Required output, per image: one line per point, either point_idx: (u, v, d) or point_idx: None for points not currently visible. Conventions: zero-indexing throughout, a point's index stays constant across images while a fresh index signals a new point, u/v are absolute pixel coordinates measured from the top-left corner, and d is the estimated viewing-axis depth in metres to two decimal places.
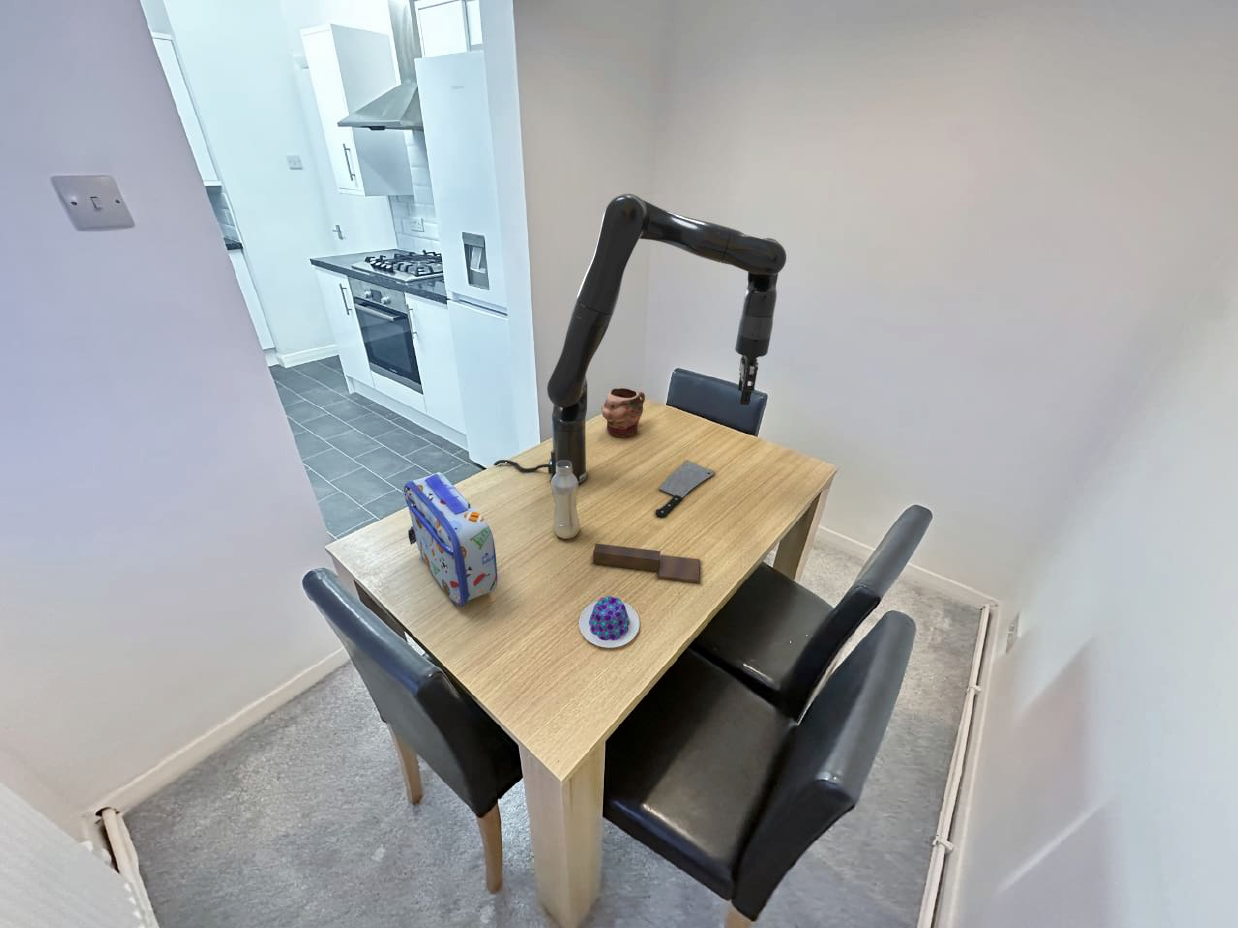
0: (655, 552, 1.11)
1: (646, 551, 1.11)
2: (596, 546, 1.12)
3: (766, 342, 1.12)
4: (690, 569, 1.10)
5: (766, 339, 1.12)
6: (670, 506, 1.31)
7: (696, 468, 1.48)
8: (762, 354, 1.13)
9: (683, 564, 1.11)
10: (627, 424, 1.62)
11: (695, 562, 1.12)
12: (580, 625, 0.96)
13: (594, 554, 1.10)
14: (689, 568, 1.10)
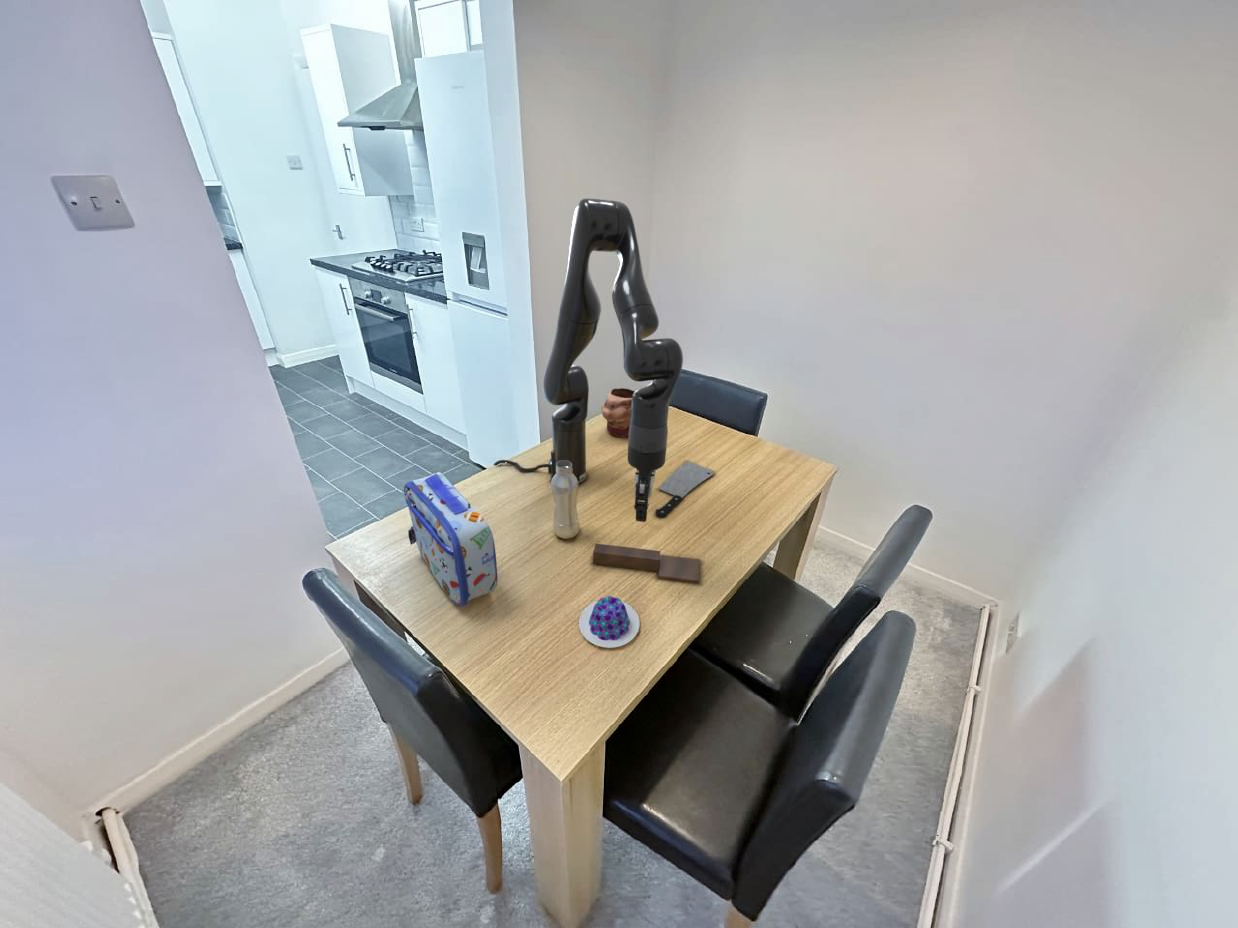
0: (655, 552, 1.11)
1: (646, 551, 1.11)
2: (596, 546, 1.12)
3: (660, 454, 0.93)
4: (690, 569, 1.10)
5: (659, 451, 0.93)
6: (670, 506, 1.31)
7: (696, 468, 1.48)
8: (656, 467, 0.95)
9: (683, 564, 1.11)
10: (627, 424, 1.62)
11: (695, 562, 1.12)
12: (580, 625, 0.96)
13: (594, 554, 1.10)
14: (689, 568, 1.10)
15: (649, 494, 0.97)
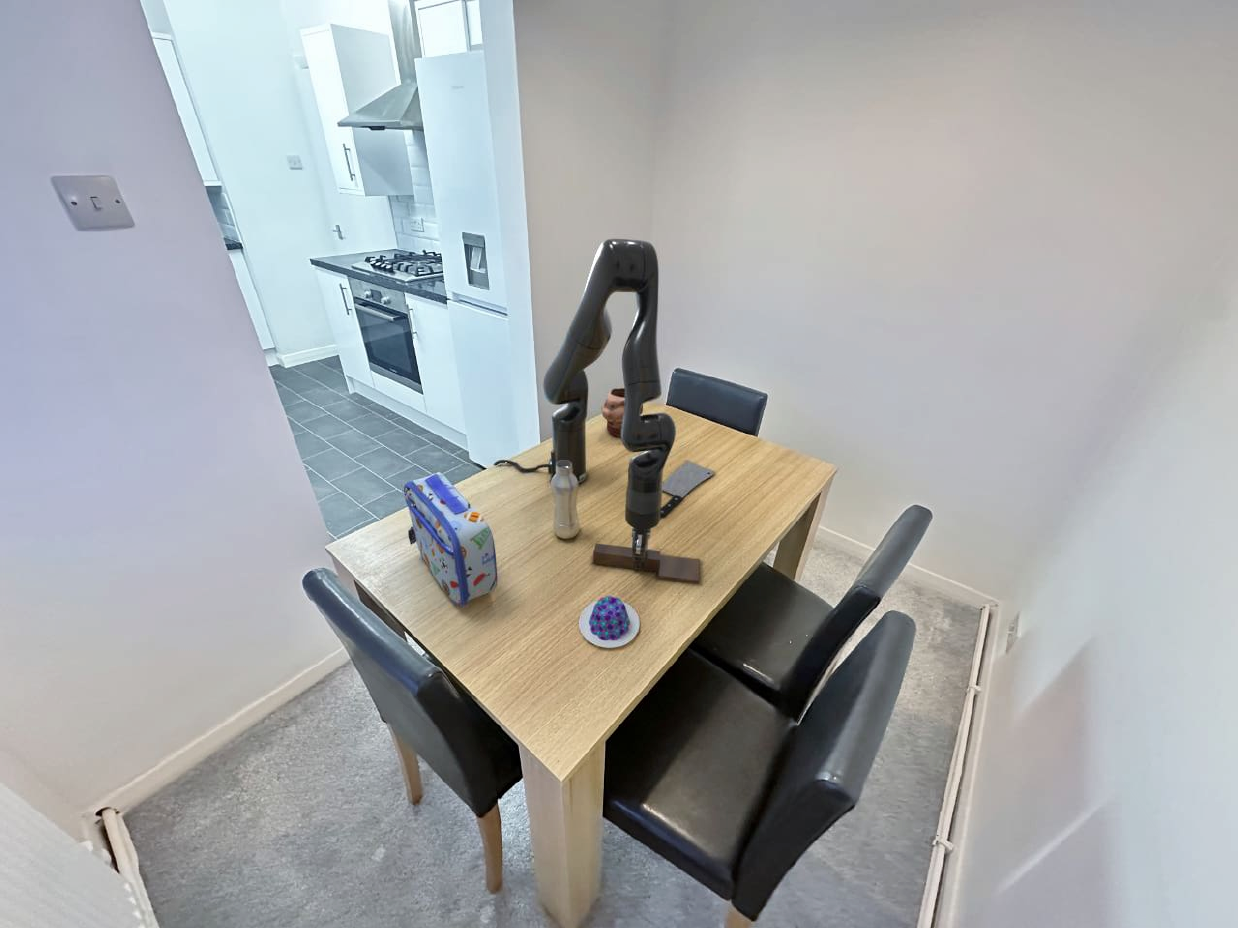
0: (655, 552, 1.11)
1: (646, 551, 1.11)
2: (596, 546, 1.12)
3: (655, 515, 1.01)
4: (690, 569, 1.10)
5: (654, 512, 1.00)
6: (670, 506, 1.31)
7: (696, 468, 1.48)
8: (651, 526, 1.02)
9: (683, 564, 1.11)
10: None
11: (695, 562, 1.12)
12: (580, 625, 0.96)
13: (594, 554, 1.10)
14: (689, 568, 1.10)
15: (645, 549, 1.06)
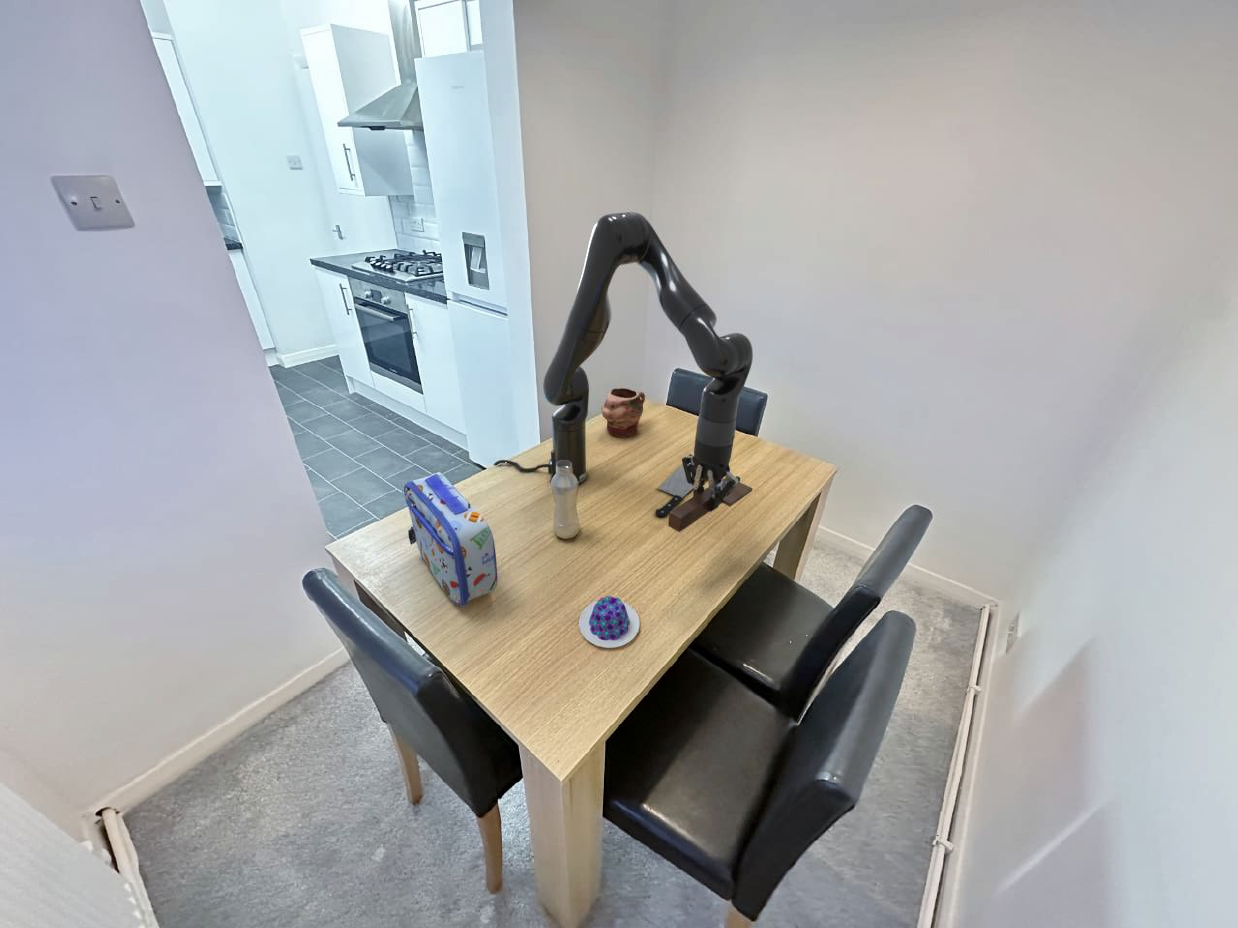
0: None
1: (707, 490, 1.06)
2: (674, 513, 0.99)
3: None
4: (736, 486, 1.13)
5: None
6: (670, 506, 1.31)
7: None
8: None
9: None
10: (627, 424, 1.62)
11: None
12: (580, 625, 0.96)
13: (681, 520, 0.98)
14: None
15: (722, 483, 1.02)
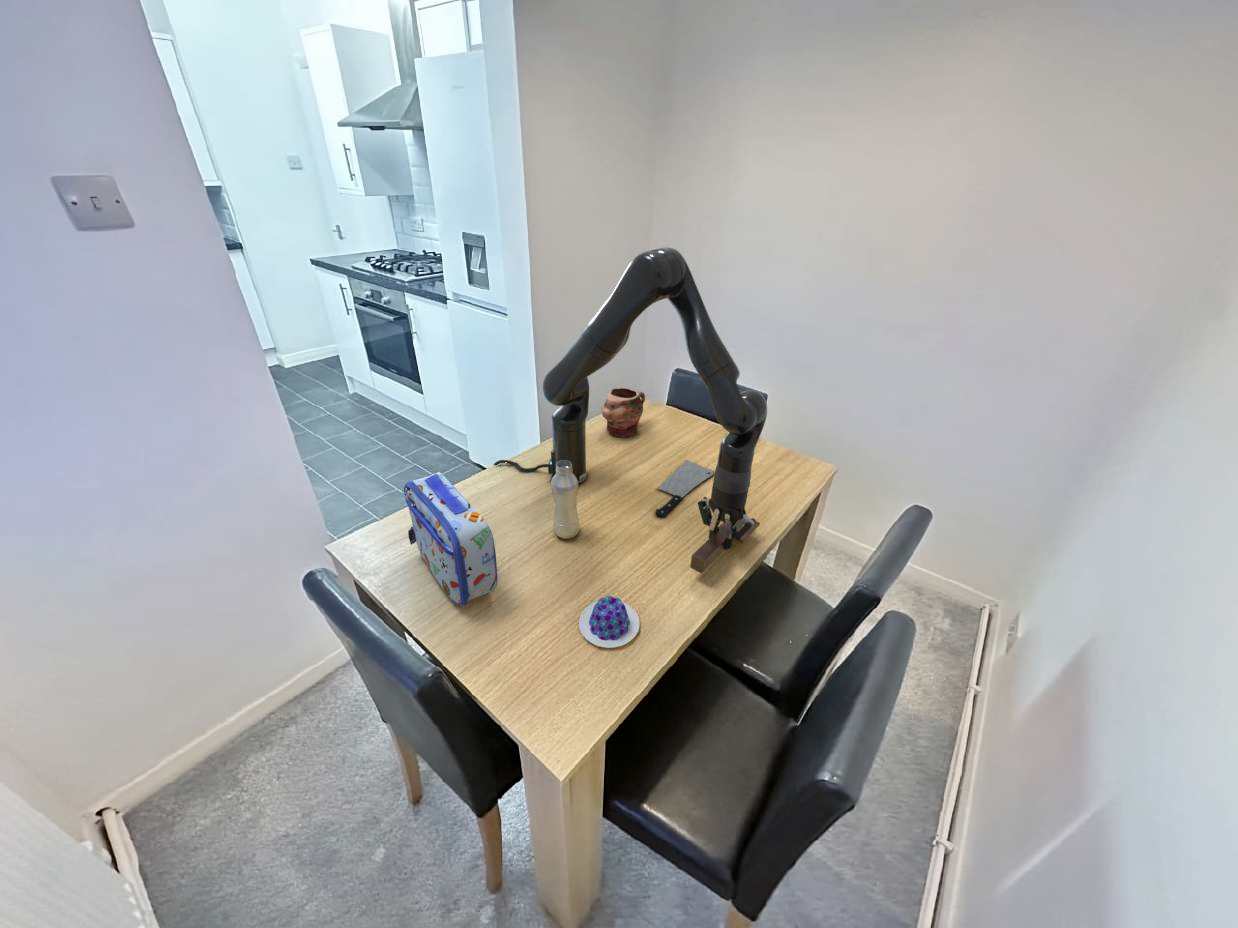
0: None
1: (721, 530, 1.13)
2: (697, 556, 1.05)
3: None
4: None
5: None
6: (670, 506, 1.31)
7: (696, 468, 1.48)
8: None
9: None
10: (627, 424, 1.62)
11: None
12: (580, 625, 0.96)
13: (704, 562, 1.04)
14: None
15: (737, 523, 1.09)
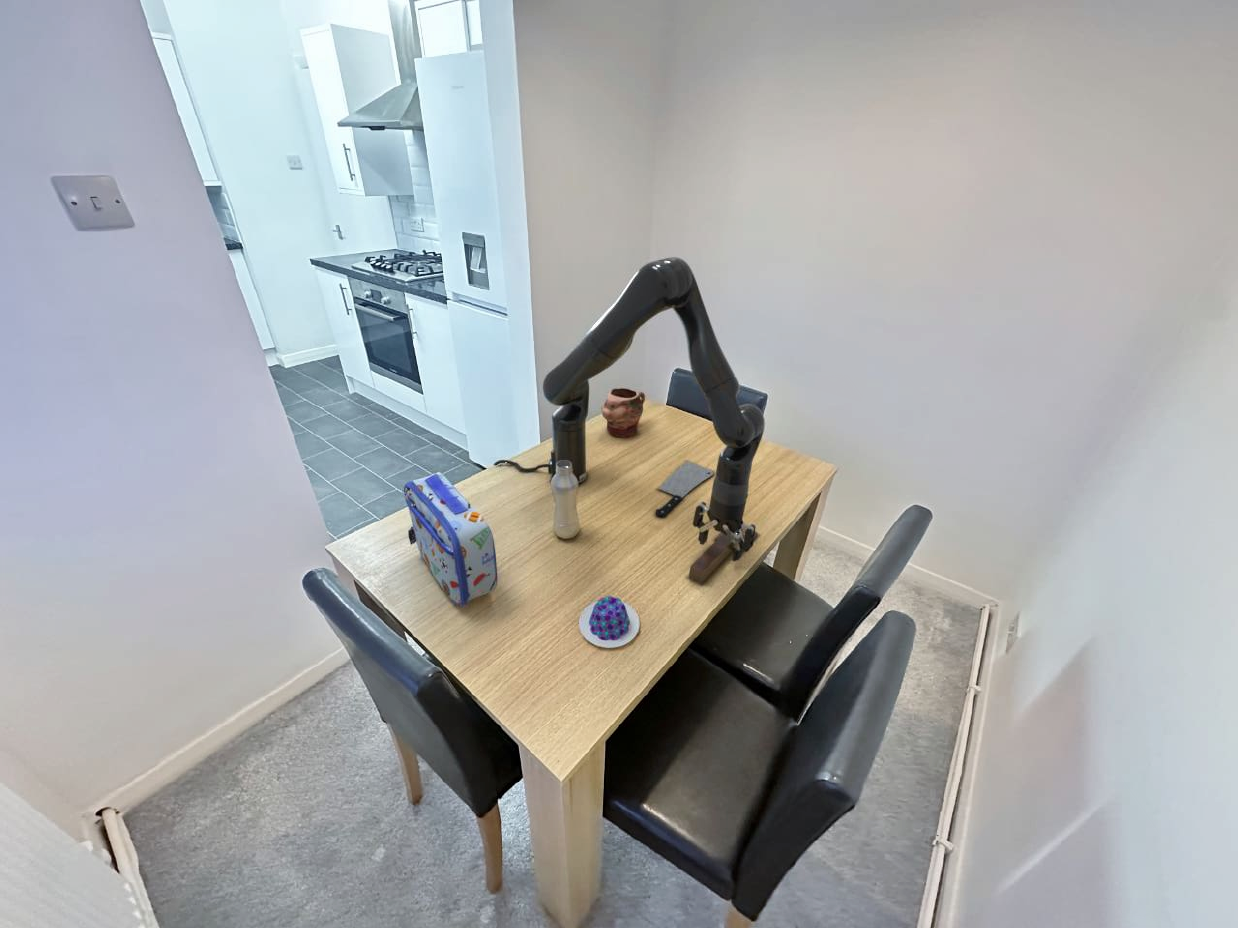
0: (724, 536, 1.16)
1: (720, 540, 1.15)
2: (695, 567, 1.07)
3: None
4: (742, 531, 1.22)
5: None
6: (670, 506, 1.31)
7: (696, 468, 1.48)
8: None
9: None
10: (627, 424, 1.62)
11: None
12: (580, 625, 0.96)
13: (702, 573, 1.06)
14: (741, 531, 1.22)
15: (741, 533, 1.10)
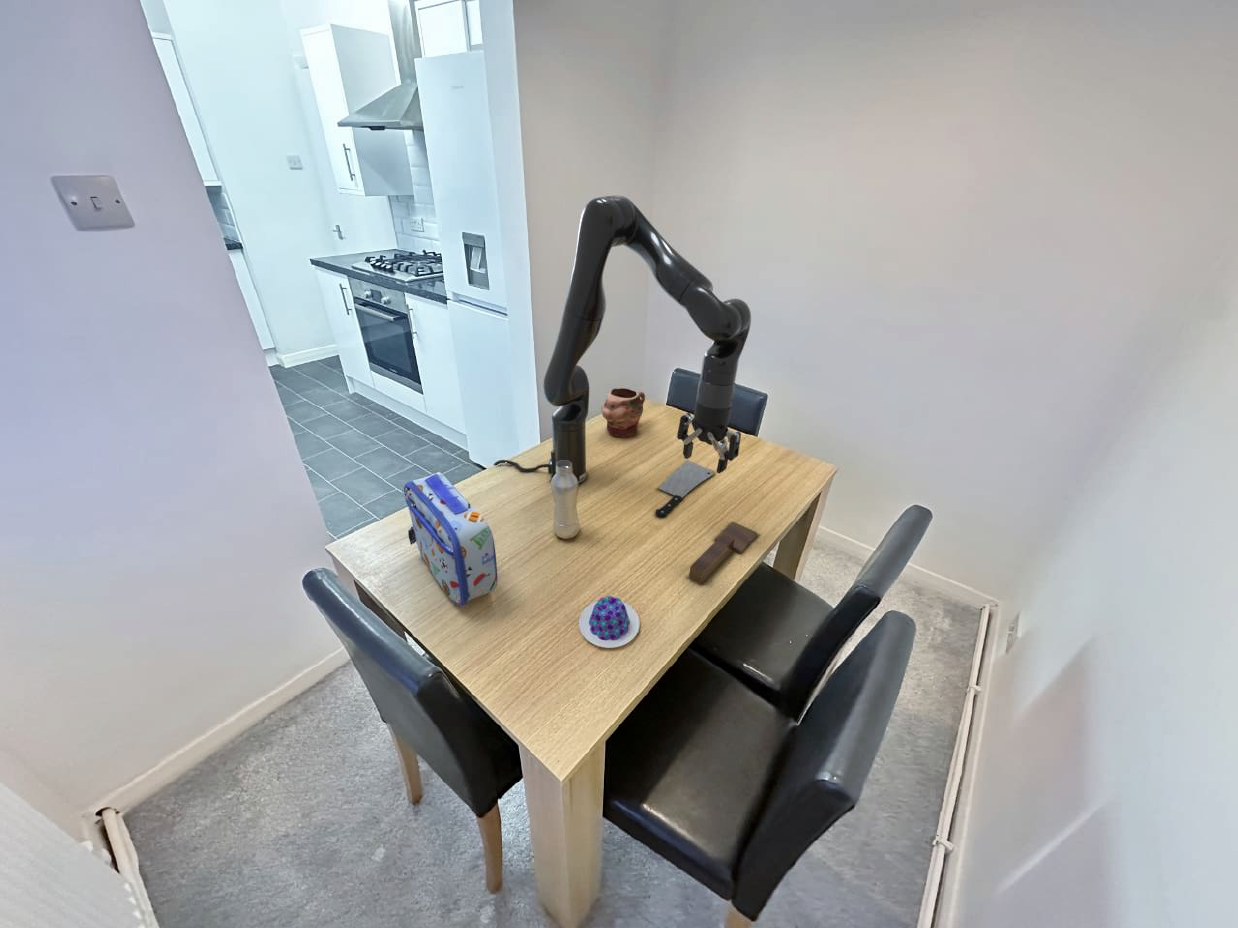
0: (724, 536, 1.16)
1: (720, 540, 1.15)
2: (695, 567, 1.07)
3: None
4: (742, 531, 1.22)
5: None
6: (670, 506, 1.31)
7: (696, 468, 1.48)
8: None
9: (734, 531, 1.22)
10: (627, 424, 1.62)
11: (735, 525, 1.24)
12: (580, 625, 0.96)
13: (702, 573, 1.06)
14: (741, 531, 1.22)
15: (726, 443, 1.06)
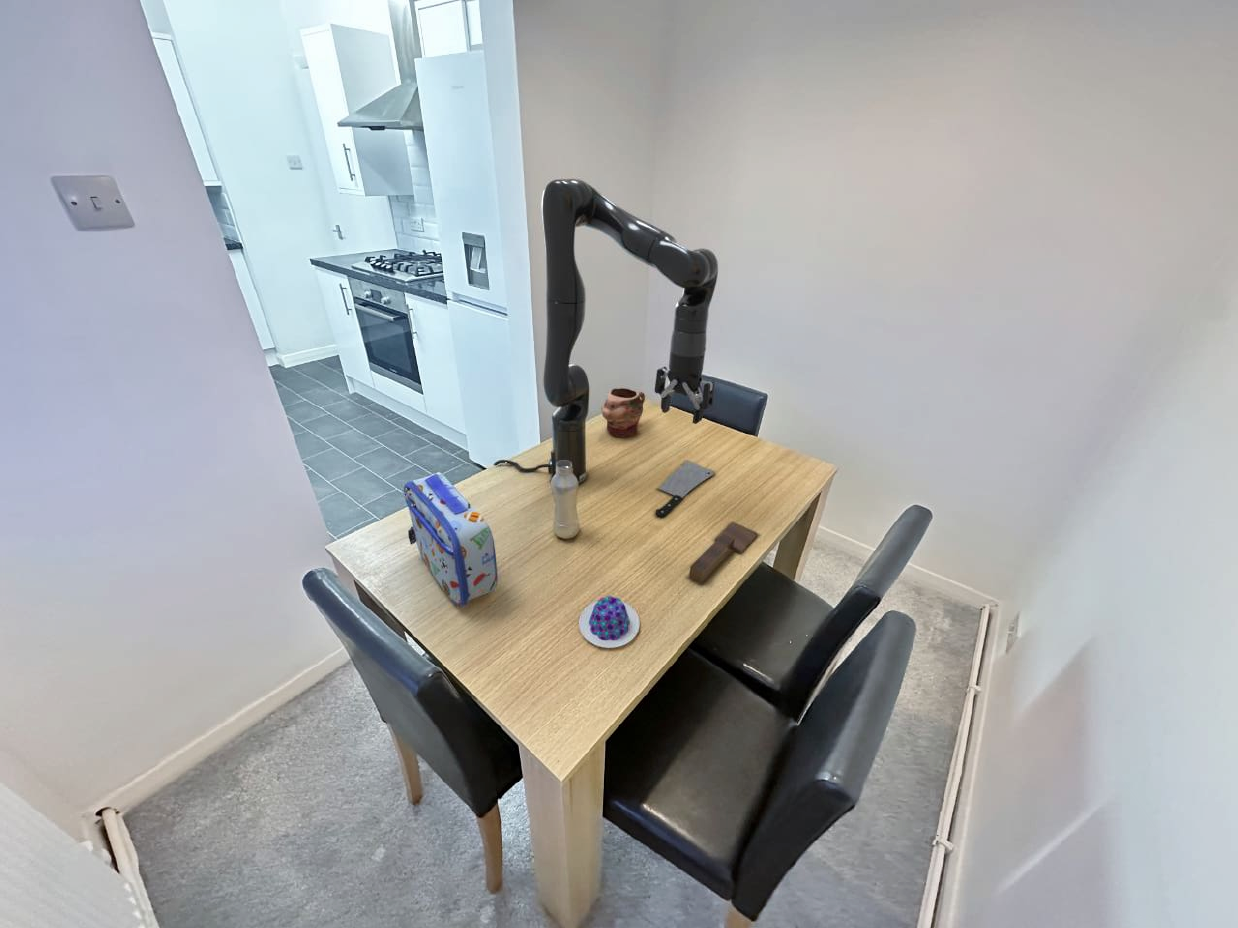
0: (724, 536, 1.16)
1: (720, 540, 1.15)
2: (695, 567, 1.07)
3: None
4: (742, 531, 1.22)
5: None
6: (670, 506, 1.31)
7: (696, 468, 1.48)
8: None
9: (734, 531, 1.22)
10: (627, 424, 1.62)
11: (735, 525, 1.24)
12: (580, 625, 0.96)
13: (702, 573, 1.06)
14: (741, 531, 1.22)
15: (701, 394, 1.10)
